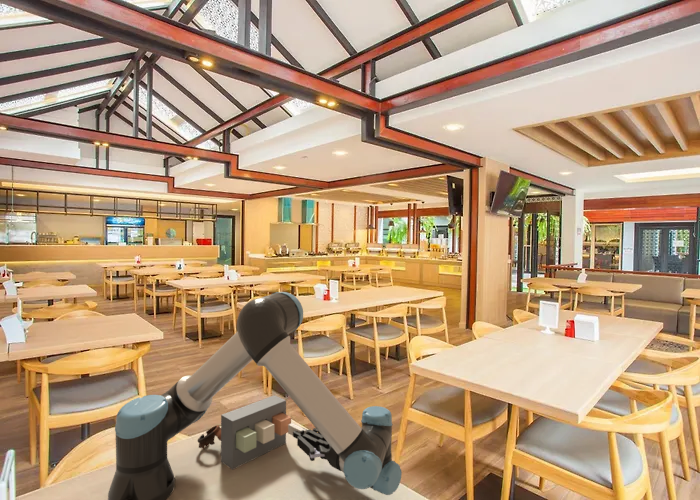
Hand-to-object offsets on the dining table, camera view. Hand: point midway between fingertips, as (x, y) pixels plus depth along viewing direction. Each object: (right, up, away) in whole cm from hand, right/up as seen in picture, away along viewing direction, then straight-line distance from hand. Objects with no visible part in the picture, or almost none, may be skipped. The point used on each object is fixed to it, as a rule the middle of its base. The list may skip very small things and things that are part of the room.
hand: (290, 428), depth 120 cm
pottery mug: (-23, -8, +2) cm, 24 cm away
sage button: (-12, -2, -7) cm, 14 cm away
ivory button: (-8, -2, -2) cm, 8 cm away
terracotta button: (-3, -2, +2) cm, 5 cm away
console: (-11, -8, +1) cm, 13 cm away
